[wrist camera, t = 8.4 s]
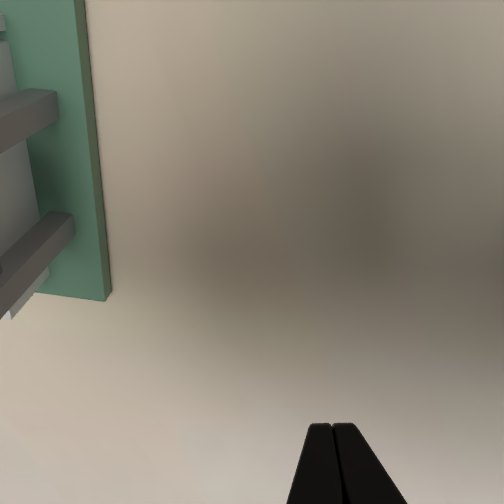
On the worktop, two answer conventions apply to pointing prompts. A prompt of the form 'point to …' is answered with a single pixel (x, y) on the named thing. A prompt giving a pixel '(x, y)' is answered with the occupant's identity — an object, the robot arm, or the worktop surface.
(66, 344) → the worktop surface
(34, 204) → the circuit board module
